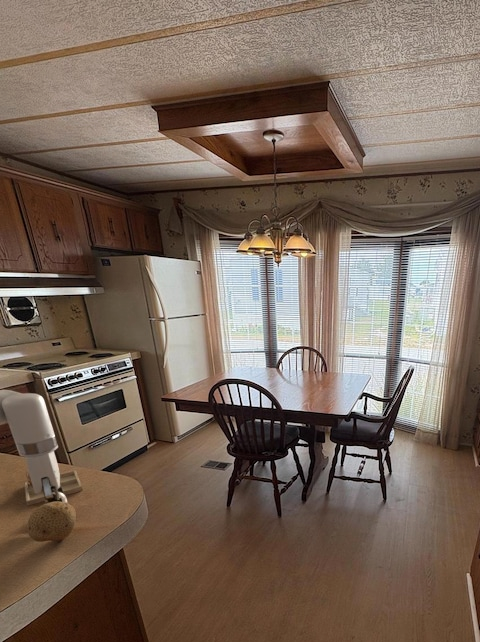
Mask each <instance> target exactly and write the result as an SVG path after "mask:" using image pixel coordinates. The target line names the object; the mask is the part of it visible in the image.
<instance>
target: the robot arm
mask: <svg viewBox="0 0 480 642" xmlns="http://www.w3.org/2000/svg"><path fill="white" fill-rule="evenodd" d="M4 424H8V426H9V429H10V433H11V435H12V438H13V442H14V444H15V446H16V449H17V452H18V455H19V456H20V457H24V458H25V463H26V468H27V472H28V471H29V475H30V478H31V482H32V485H33V488H34V492H35V494H39V493H41V490H43V494H44V497H45V501H46V502H45V501H44V504H45V503H50V502H55V501H59V502H63V501H62V498H60V497H59V493H58V492H61V493H63V490H62V487H60V469H59V464H58V461H57V457H56V454H55V451H56V450H57V449H58V448H59V445H58V441H57V438H56V435H55V432H54V428H53V425H52V422H51V418H50V415H49V412H48V408H47V405H46V401H45V399H44V397H43V396H42V395H40V394H38V393H31V392H25V393H22V392H18V391H15V390H10V389H0V426H1V425H4ZM59 487H60V488H59ZM52 492H55V494H56V495H55V494H53V493H52ZM63 494H64V493H63Z"/></svg>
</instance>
